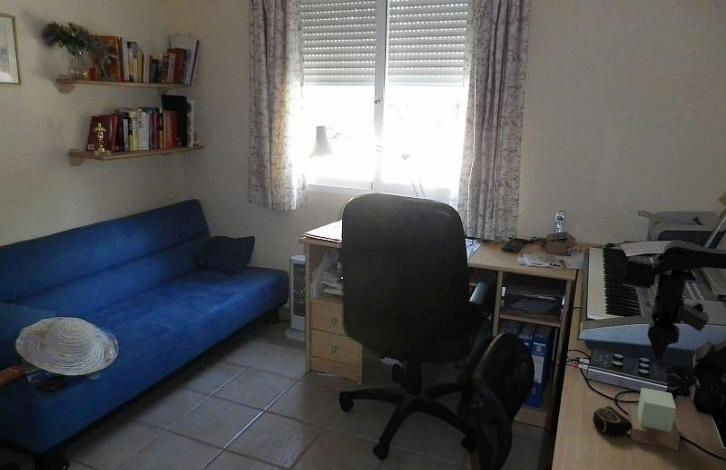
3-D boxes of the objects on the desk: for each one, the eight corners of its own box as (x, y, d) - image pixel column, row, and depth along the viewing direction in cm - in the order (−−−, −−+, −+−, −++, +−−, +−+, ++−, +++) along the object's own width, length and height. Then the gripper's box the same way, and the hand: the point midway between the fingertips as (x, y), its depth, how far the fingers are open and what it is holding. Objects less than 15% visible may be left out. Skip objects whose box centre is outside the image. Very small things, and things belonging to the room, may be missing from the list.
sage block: (637, 410, 120) (641, 387, 118) (667, 416, 118) (671, 393, 116) (640, 425, 115) (644, 402, 113) (671, 432, 112) (675, 408, 111)
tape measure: (631, 435, 116) (634, 421, 115) (606, 441, 114) (609, 426, 113) (609, 417, 123) (611, 403, 122) (585, 422, 121) (587, 408, 120)
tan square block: (671, 425, 119) (673, 414, 119) (677, 450, 111) (680, 438, 111) (627, 416, 123) (629, 405, 122) (631, 439, 115) (633, 428, 114)
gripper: (710, 315, 113) (697, 378, 117) (709, 287, 128) (697, 344, 133) (652, 304, 118) (642, 364, 123) (657, 278, 134) (648, 333, 138)
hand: (659, 351), depth 129 cm, fingers open, 9 cm apart
